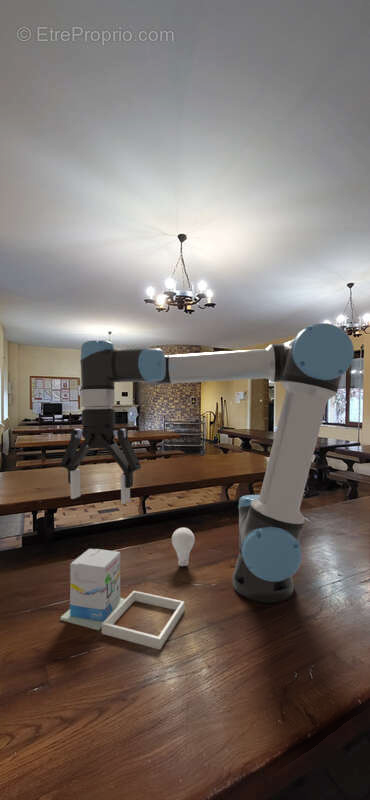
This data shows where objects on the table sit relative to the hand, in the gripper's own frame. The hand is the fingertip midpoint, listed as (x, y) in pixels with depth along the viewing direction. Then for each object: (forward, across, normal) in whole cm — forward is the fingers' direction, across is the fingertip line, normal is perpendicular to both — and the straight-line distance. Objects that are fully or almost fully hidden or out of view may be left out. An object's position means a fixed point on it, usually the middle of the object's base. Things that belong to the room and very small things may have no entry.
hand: (100, 499), depth 79 cm
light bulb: (+25, -11, -25) cm, 37 cm away
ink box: (+25, +1, +1) cm, 25 cm away
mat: (+25, +1, +1) cm, 25 cm away
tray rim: (+25, -12, +1) cm, 28 cm away
